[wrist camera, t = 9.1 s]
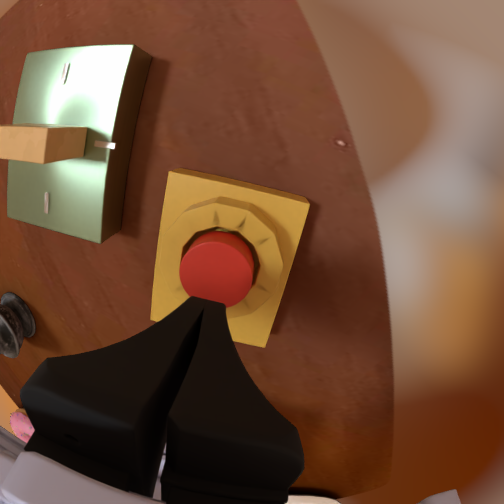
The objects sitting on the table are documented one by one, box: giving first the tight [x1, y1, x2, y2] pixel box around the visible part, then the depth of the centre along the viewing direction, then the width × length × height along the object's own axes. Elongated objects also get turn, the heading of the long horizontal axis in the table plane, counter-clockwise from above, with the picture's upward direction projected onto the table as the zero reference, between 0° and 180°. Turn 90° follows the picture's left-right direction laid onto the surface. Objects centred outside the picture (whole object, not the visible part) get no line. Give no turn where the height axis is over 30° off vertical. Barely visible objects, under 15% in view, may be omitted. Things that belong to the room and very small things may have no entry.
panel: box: [7, 44, 152, 244], centre depth 16 cm, size 12×10×3 cm
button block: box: [151, 168, 310, 347], centre depth 18 cm, size 10×8×4 cm
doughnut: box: [10, 409, 35, 443], centre depth 29 cm, size 11×11×4 cm
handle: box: [0, 123, 87, 164], centre depth 13 cm, size 6×2×4 cm, turn 77°
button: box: [179, 231, 254, 308], centre depth 15 cm, size 4×4×2 cm
